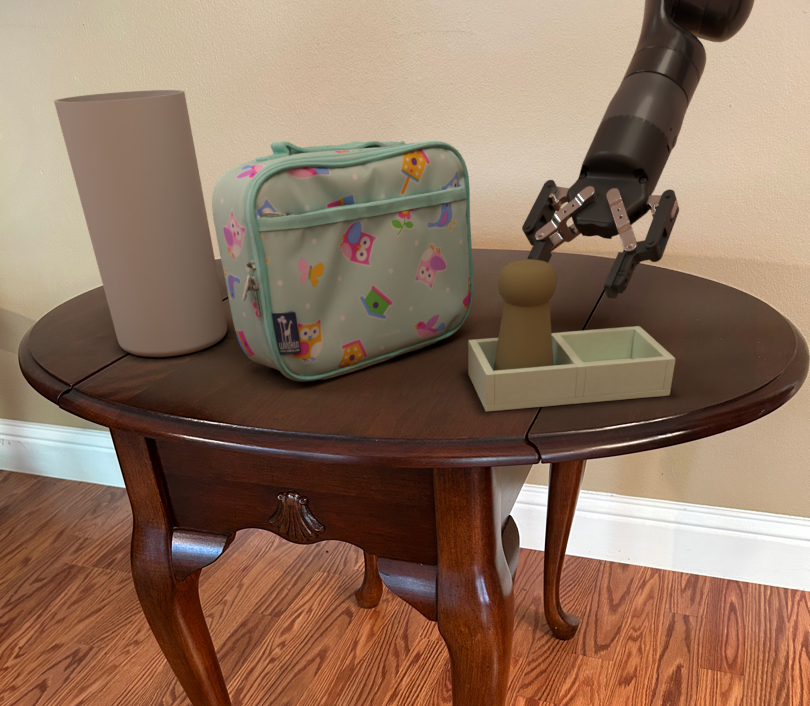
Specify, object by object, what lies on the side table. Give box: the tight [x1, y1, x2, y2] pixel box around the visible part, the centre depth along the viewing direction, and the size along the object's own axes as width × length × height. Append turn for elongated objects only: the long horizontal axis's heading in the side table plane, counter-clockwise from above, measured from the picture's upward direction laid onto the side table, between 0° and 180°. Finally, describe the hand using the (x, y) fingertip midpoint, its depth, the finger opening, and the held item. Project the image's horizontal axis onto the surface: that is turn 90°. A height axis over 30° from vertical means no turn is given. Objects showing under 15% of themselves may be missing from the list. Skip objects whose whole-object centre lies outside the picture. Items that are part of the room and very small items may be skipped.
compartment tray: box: [467, 325, 676, 412], centre depth 73 cm, size 17×9×4 cm, turn 96°
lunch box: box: [211, 140, 475, 382], centre depth 77 cm, size 27×10×21 cm, turn 126°
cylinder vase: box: [53, 89, 228, 358], centre depth 83 cm, size 12×12×25 cm
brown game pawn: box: [493, 258, 558, 371], centre depth 70 cm, size 6×6×11 cm
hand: (569, 287), depth 74 cm, fingers open, 8 cm apart
